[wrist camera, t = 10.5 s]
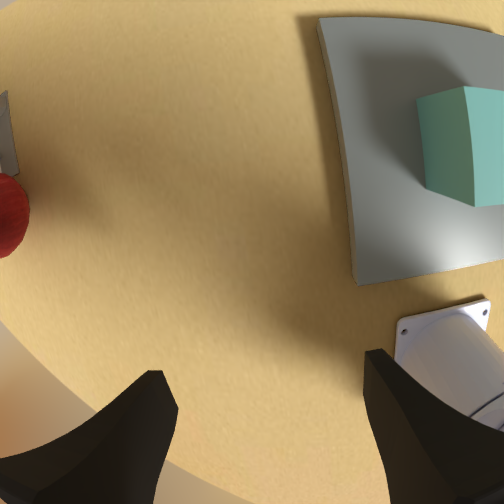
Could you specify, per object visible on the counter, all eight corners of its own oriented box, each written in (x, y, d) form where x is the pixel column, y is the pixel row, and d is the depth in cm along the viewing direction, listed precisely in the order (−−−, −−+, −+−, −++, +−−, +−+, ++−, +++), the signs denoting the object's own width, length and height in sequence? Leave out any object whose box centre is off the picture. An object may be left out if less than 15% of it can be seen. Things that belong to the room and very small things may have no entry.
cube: (491, 184, 15) (544, 199, 10) (425, 189, 15) (474, 207, 11) (483, 102, 13) (537, 97, 8) (415, 98, 14) (463, 86, 9)
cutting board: (519, 246, 17) (531, 252, 16) (352, 275, 19) (357, 286, 17) (502, 42, 13) (513, 38, 11) (315, 27, 14) (319, 18, 13)
